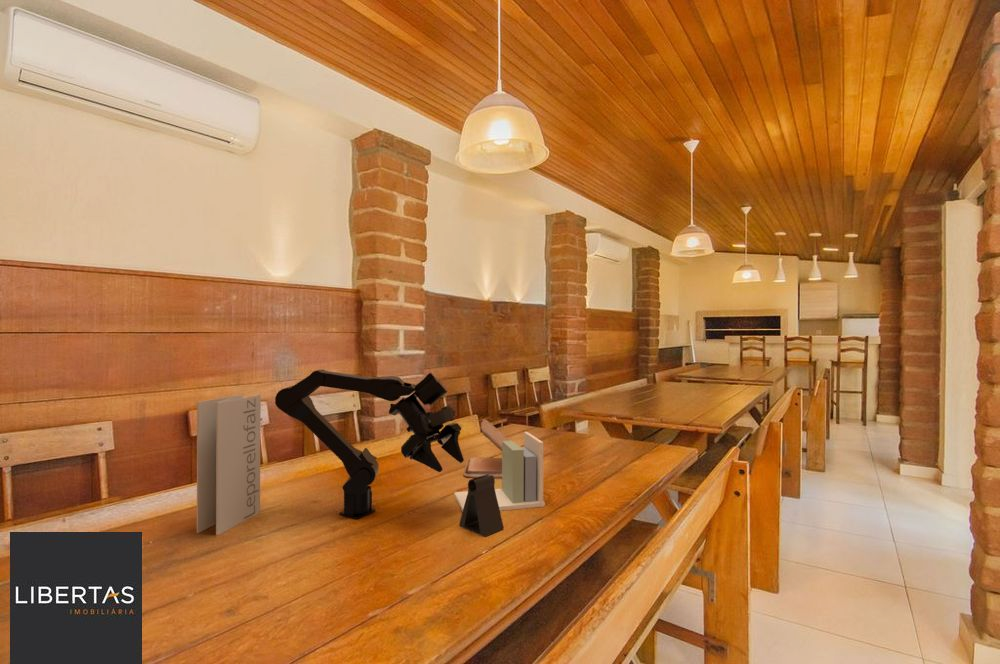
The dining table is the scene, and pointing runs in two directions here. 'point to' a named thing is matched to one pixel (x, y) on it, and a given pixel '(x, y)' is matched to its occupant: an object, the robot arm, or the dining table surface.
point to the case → (487, 465)
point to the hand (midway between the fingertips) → (452, 466)
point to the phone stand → (481, 507)
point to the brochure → (228, 461)
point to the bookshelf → (518, 476)
